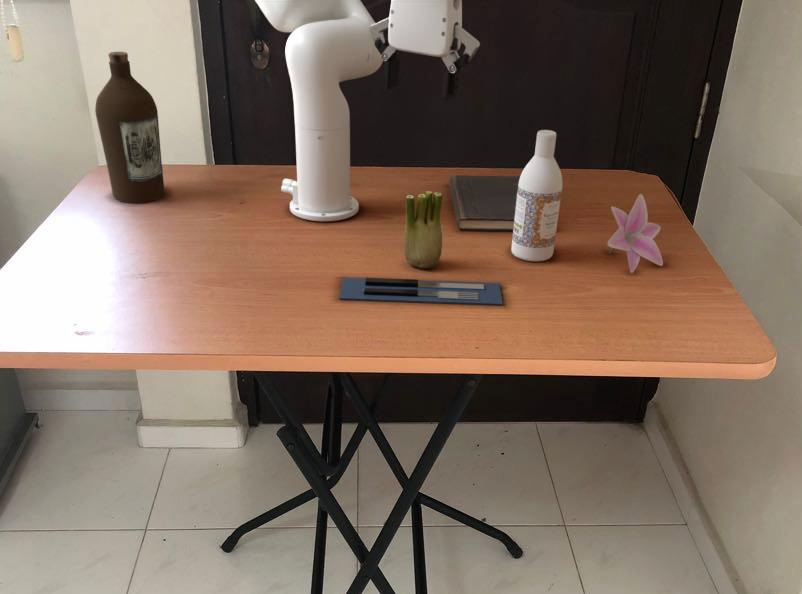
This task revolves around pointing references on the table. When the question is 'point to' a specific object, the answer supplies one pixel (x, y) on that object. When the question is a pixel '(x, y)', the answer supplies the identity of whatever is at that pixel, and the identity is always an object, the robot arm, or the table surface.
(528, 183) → the bath foam
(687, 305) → the table surface
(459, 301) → the napkin
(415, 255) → the fennel bulb
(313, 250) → the table surface
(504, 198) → the hardcover book
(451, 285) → the cutlery
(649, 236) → the lily
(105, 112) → the olive oil
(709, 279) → the table surface
